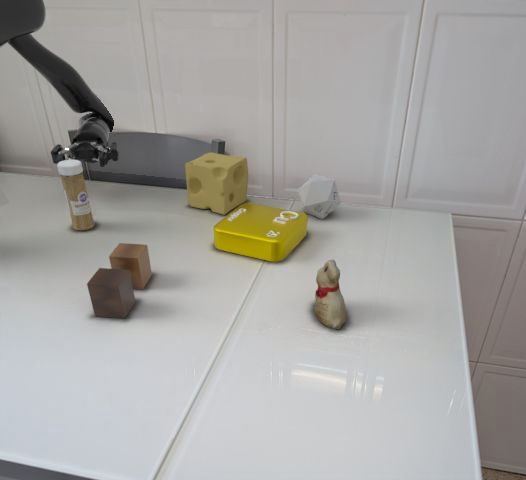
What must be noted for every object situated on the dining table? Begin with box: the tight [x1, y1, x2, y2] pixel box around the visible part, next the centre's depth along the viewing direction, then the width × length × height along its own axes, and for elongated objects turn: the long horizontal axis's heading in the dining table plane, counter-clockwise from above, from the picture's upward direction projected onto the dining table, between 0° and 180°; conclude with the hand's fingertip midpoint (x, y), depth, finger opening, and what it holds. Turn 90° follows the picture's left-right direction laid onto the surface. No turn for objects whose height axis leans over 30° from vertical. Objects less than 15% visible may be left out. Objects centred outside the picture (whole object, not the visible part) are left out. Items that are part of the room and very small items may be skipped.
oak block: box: [108, 242, 153, 290], centre depth 86 cm, size 5×5×6 cm
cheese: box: [184, 151, 249, 216], centre depth 112 cm, size 10×11×10 cm
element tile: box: [213, 202, 308, 263], centre depth 99 cm, size 15×15×5 cm
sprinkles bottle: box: [56, 160, 95, 231], centre depth 101 cm, size 5×5×13 cm
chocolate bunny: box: [314, 259, 347, 330], centre depth 76 cm, size 6×8×10 cm
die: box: [297, 173, 342, 220], centre depth 108 cm, size 8×9×10 cm
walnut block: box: [86, 267, 136, 320], centre depth 79 cm, size 5×5×6 cm
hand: (81, 163), depth 107 cm, fingers open, 8 cm apart
